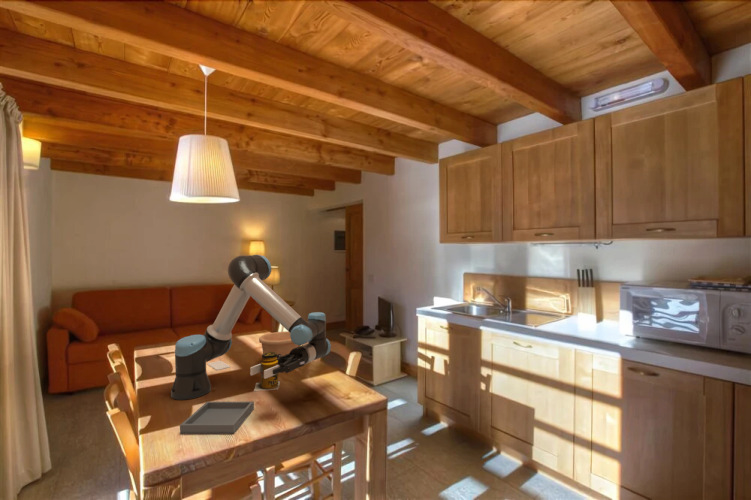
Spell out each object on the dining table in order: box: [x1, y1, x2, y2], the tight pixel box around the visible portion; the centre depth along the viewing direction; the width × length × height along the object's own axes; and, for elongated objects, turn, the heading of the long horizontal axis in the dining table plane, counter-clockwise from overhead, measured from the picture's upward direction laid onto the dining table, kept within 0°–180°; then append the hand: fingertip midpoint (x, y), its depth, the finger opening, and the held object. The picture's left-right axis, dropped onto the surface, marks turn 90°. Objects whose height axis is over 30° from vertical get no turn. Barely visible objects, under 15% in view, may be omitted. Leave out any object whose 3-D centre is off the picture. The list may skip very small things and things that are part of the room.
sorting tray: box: [179, 400, 255, 435], centre depth 126 cm, size 18×18×3 cm
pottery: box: [258, 331, 300, 367], centre depth 189 cm, size 22×22×14 cm
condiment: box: [253, 352, 281, 392], centre depth 128 cm, size 7×8×12 cm
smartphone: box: [206, 360, 231, 371], centre depth 187 cm, size 7×1×15 cm
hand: (257, 373), depth 124 cm, fingers closed on condiment, 6 cm apart
